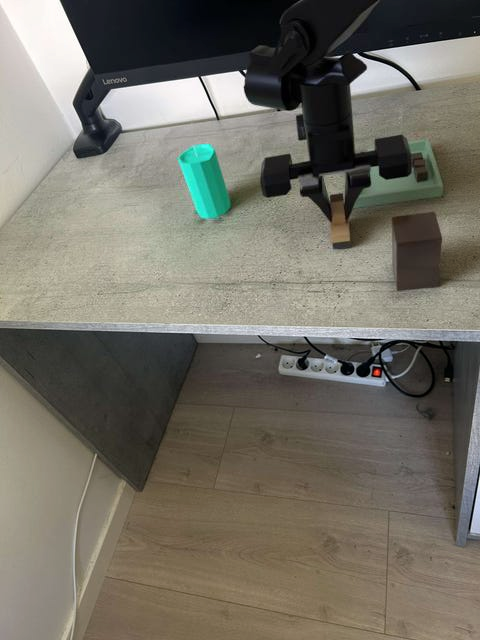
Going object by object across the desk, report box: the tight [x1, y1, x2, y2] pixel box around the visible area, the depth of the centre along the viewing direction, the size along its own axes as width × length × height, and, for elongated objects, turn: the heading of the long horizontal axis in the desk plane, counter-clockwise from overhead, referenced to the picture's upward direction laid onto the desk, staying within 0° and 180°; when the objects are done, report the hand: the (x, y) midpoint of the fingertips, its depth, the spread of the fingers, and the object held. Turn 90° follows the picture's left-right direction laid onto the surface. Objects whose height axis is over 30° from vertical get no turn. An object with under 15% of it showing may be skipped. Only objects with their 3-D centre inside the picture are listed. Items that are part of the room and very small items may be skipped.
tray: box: [353, 138, 444, 209], centre depth 77 cm, size 13×13×2 cm
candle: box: [177, 143, 232, 220], centre depth 80 cm, size 6×6×12 cm
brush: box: [329, 192, 351, 250], centre depth 69 cm, size 6×3×7 cm, turn 175°
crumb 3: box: [415, 166, 428, 182], centre depth 75 cm, size 2×2×2 cm
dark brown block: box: [391, 211, 443, 292], centre depth 60 cm, size 5×5×8 cm
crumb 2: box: [414, 159, 425, 174], centre depth 76 cm, size 2×2×2 cm
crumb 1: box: [411, 152, 423, 168], centre depth 78 cm, size 2×2×2 cm
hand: (339, 219), depth 69 cm, fingers closed on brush, 2 cm apart
